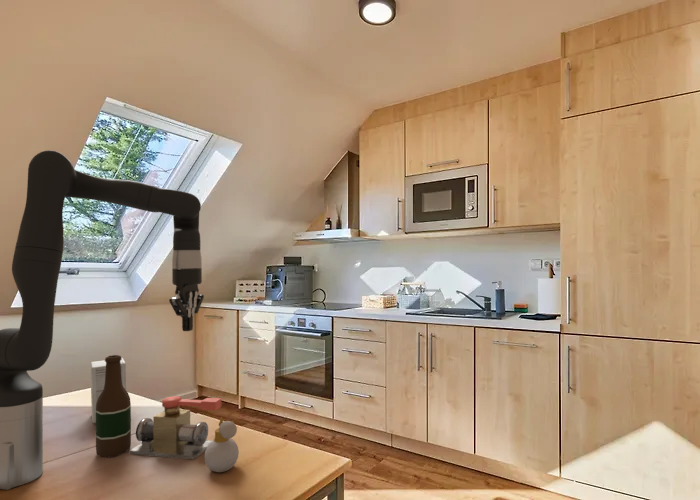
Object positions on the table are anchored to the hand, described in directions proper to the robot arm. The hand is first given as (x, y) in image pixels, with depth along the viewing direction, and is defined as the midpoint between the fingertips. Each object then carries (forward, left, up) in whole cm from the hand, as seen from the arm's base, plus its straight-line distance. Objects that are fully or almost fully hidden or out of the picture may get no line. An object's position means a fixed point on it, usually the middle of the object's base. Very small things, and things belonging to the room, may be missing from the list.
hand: (187, 330), depth 118 cm
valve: (-7, 0, -29) cm, 30 cm away
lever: (-7, -5, -18) cm, 20 cm away
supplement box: (+11, +35, -29) cm, 47 cm away
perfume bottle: (-15, -19, -29) cm, 38 cm away
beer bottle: (-11, +14, -29) cm, 34 cm away
